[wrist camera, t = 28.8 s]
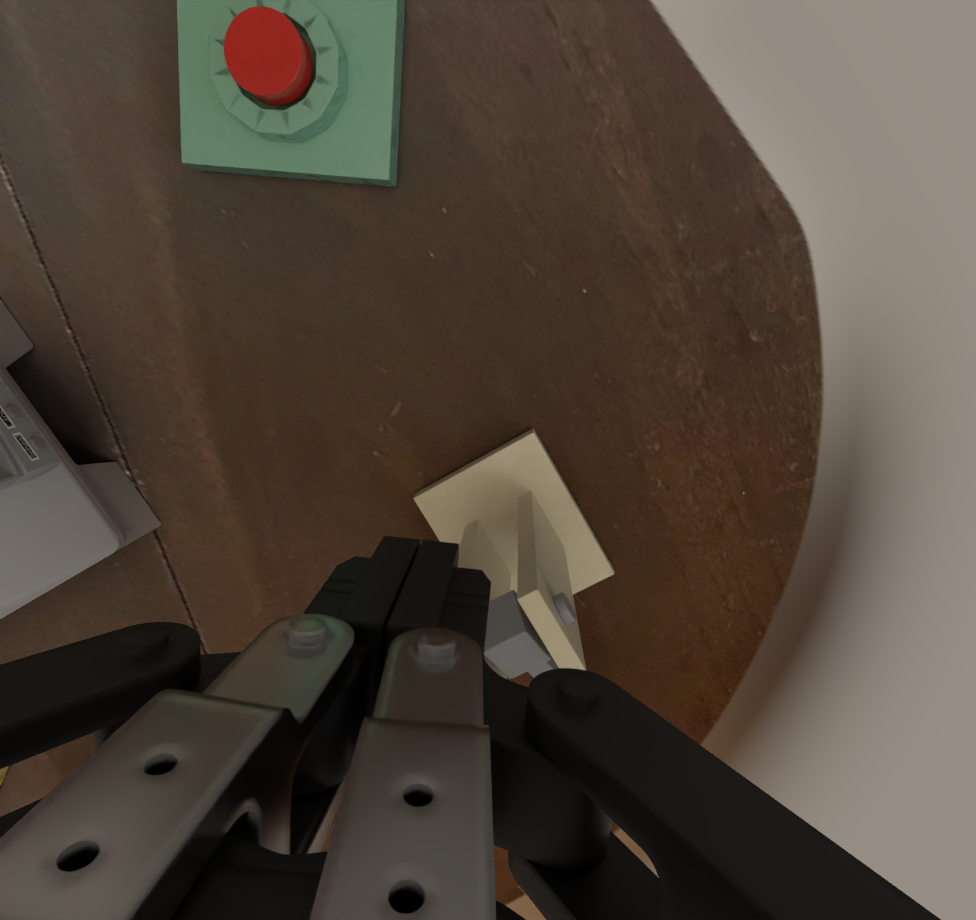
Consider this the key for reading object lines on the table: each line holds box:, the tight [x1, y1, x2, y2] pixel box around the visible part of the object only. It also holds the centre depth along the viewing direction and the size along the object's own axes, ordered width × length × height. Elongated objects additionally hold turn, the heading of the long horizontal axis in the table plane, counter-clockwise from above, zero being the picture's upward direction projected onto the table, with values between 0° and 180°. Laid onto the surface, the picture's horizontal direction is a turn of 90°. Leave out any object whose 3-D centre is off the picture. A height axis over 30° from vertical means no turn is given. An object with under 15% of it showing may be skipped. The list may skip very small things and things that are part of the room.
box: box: [177, 0, 405, 187], centre depth 35 cm, size 12×10×4 cm
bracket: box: [413, 428, 614, 679], centre depth 35 cm, size 11×9×16 cm
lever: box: [484, 590, 559, 679], centre depth 33 cm, size 15×4×4 cm, turn 31°
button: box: [224, 6, 313, 106], centre depth 33 cm, size 4×4×2 cm
